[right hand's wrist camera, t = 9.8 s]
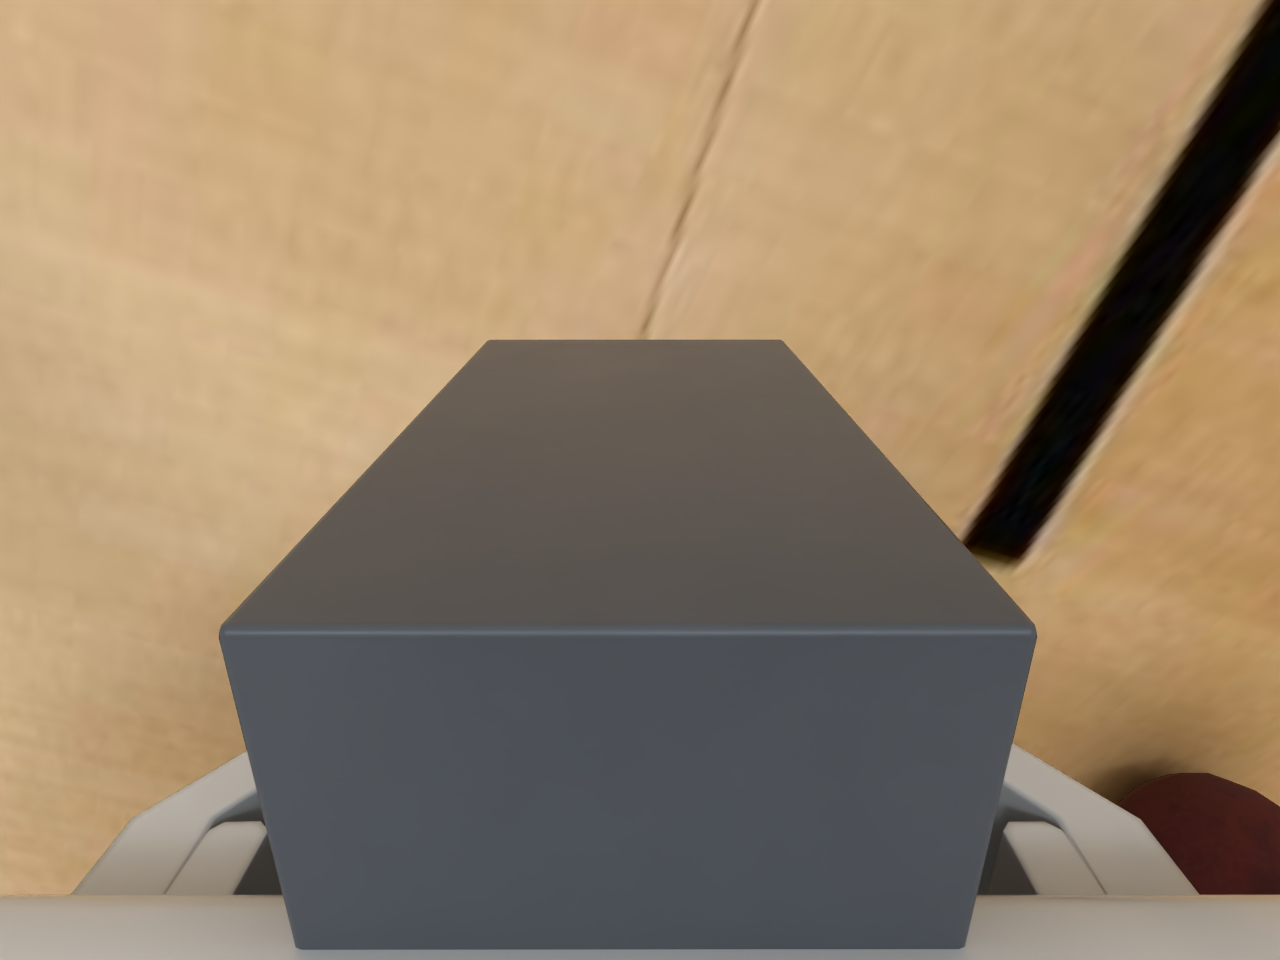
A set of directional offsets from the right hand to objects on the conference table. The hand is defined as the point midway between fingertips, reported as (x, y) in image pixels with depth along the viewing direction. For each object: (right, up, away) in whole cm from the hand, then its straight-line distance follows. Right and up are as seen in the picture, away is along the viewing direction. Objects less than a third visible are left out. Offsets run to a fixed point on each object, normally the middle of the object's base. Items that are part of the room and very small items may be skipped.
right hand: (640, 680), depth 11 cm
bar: (0, -7, +6) cm, 9 cm away
